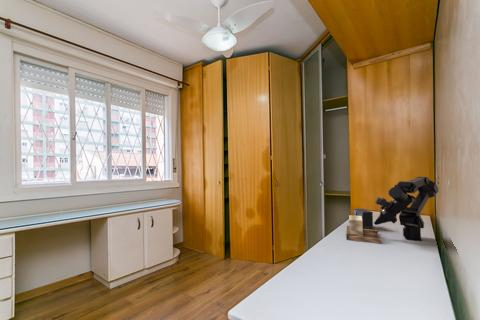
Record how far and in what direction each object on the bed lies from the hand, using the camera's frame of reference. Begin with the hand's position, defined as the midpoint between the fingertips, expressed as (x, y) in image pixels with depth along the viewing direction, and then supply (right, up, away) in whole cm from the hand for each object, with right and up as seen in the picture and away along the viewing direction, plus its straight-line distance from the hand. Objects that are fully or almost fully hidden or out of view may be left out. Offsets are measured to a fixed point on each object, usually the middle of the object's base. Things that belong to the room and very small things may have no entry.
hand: (374, 224), depth 118 cm
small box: (+4, -8, +19) cm, 21 cm away
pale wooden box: (-8, -7, +3) cm, 11 cm away
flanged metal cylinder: (-1, -7, +16) cm, 18 cm away
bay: (-5, -7, +2) cm, 9 cm away
